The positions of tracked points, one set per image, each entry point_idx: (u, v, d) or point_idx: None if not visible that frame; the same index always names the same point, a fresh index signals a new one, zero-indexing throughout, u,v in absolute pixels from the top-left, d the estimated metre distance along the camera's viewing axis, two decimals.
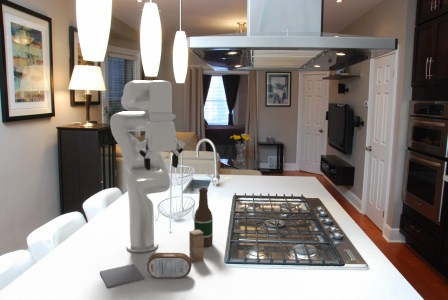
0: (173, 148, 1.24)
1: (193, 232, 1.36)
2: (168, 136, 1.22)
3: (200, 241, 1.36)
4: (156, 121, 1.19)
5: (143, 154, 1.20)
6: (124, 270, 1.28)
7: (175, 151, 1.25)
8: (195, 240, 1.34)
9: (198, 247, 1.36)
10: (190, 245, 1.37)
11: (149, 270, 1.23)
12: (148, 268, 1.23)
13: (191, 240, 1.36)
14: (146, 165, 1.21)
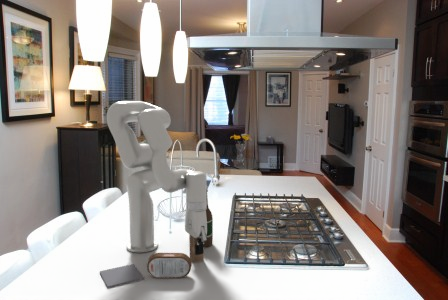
0: None
1: None
2: None
3: None
4: (206, 207, 1.35)
5: None
6: (124, 270, 1.28)
7: None
8: (195, 240, 1.34)
9: None
10: (190, 244, 1.37)
11: (149, 270, 1.23)
12: (148, 268, 1.23)
13: (191, 240, 1.36)
14: (201, 250, 1.35)
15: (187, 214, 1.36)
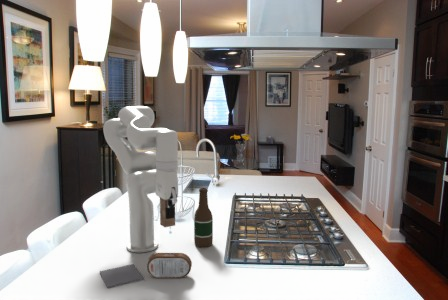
0: None
1: None
2: None
3: None
4: (177, 168, 1.26)
5: None
6: (124, 270, 1.28)
7: None
8: None
9: None
10: (161, 208, 1.29)
11: (149, 270, 1.23)
12: (148, 268, 1.23)
13: (161, 203, 1.28)
14: None
15: (157, 176, 1.28)
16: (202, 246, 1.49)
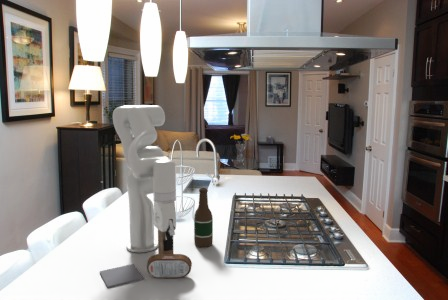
0: None
1: None
2: None
3: None
4: (175, 199, 1.23)
5: None
6: (124, 270, 1.28)
7: None
8: (163, 235, 1.23)
9: None
10: (159, 240, 1.25)
11: (149, 271, 1.22)
12: (148, 269, 1.22)
13: (159, 234, 1.25)
14: None
15: (155, 206, 1.24)
16: (202, 246, 1.49)
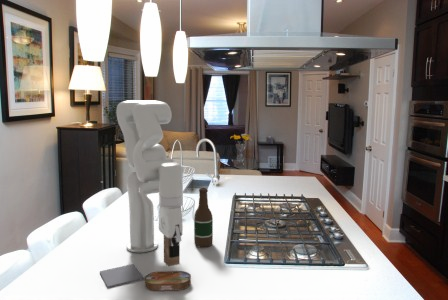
0: None
1: None
2: None
3: None
4: (181, 204, 1.18)
5: None
6: (124, 270, 1.28)
7: None
8: (169, 241, 1.18)
9: None
10: (165, 246, 1.21)
11: None
12: None
13: (165, 240, 1.20)
14: None
15: (160, 211, 1.20)
16: (202, 246, 1.49)
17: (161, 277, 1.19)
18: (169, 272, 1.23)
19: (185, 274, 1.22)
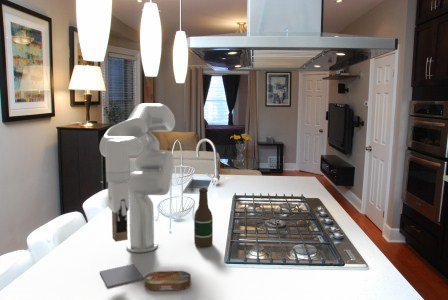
0: None
1: None
2: None
3: None
4: (128, 179, 1.20)
5: None
6: (124, 270, 1.28)
7: None
8: (116, 216, 1.19)
9: None
10: (113, 221, 1.22)
11: None
12: None
13: (113, 216, 1.21)
14: None
15: (108, 187, 1.21)
16: (202, 246, 1.49)
17: (161, 277, 1.19)
18: (169, 272, 1.23)
19: (185, 274, 1.22)
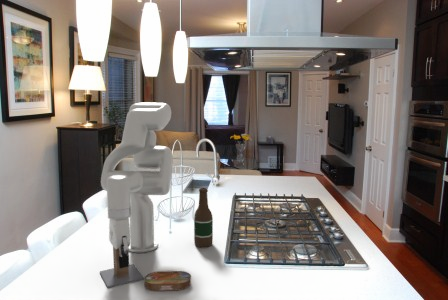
0: None
1: None
2: None
3: None
4: (129, 215, 1.21)
5: None
6: None
7: None
8: (117, 253, 1.21)
9: None
10: (114, 258, 1.24)
11: None
12: None
13: (114, 252, 1.23)
14: (126, 262, 1.21)
15: (110, 222, 1.23)
16: (202, 246, 1.49)
17: (161, 277, 1.19)
18: (169, 272, 1.23)
19: (185, 274, 1.22)
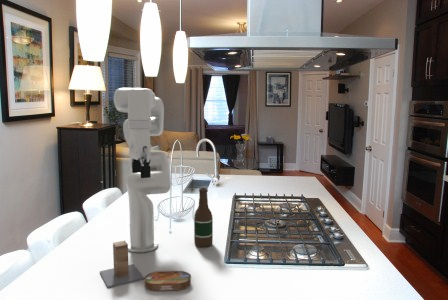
0: None
1: (116, 244, 1.23)
2: None
3: (123, 253, 1.22)
4: (150, 128, 1.22)
5: None
6: None
7: None
8: (118, 253, 1.21)
9: (122, 261, 1.22)
10: (114, 258, 1.24)
11: None
12: None
13: (114, 252, 1.23)
14: None
15: (130, 136, 1.24)
16: (202, 246, 1.49)
17: (161, 277, 1.19)
18: (169, 272, 1.23)
19: (185, 274, 1.22)
